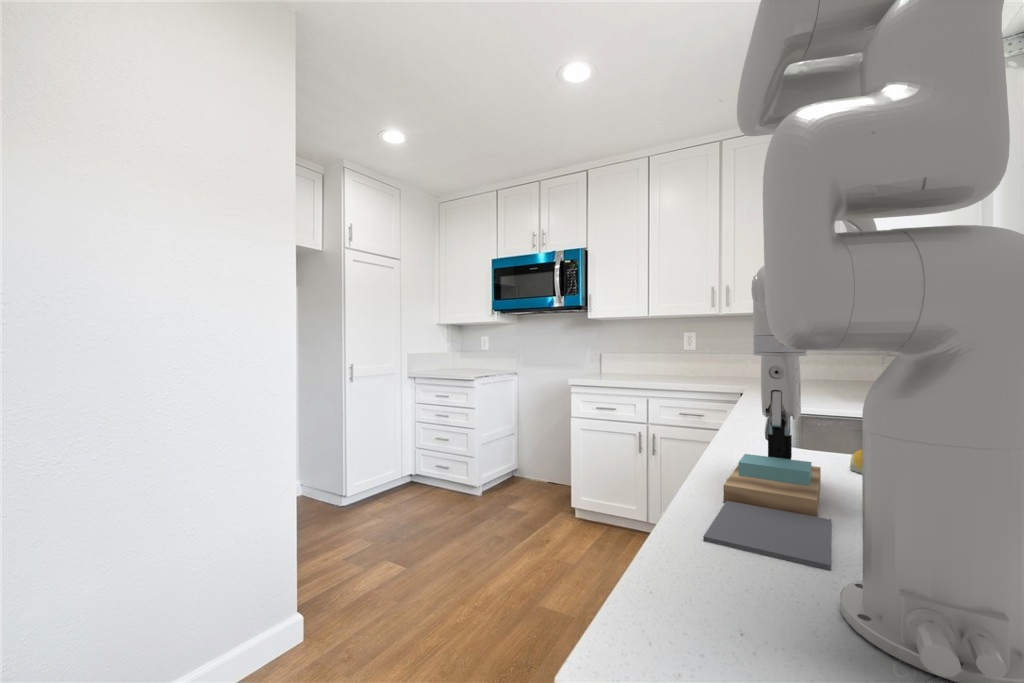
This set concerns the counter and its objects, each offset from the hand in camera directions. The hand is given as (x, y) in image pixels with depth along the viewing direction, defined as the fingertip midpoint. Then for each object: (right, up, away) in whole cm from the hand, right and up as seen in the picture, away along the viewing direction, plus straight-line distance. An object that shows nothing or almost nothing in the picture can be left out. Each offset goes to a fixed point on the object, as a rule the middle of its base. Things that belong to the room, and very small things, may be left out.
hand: (779, 458), depth 75 cm
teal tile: (-4, 0, -6) cm, 7 cm away
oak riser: (-4, -4, -6) cm, 8 cm away
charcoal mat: (-13, -4, -20) cm, 24 cm away
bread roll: (+19, -4, +4) cm, 20 cm away
